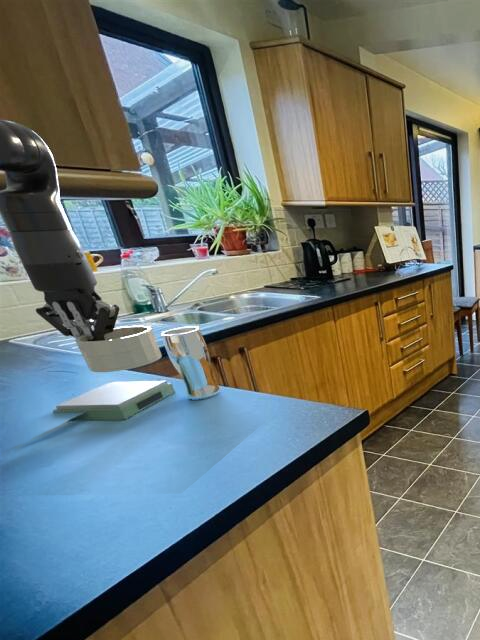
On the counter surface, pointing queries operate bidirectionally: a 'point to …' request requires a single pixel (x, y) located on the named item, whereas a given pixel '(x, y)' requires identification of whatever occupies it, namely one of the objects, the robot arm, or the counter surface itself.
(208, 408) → the counter surface
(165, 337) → the beer glass
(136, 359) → the bowl
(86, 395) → the scale
